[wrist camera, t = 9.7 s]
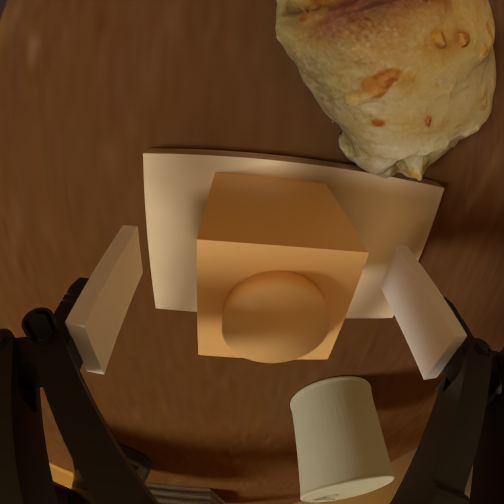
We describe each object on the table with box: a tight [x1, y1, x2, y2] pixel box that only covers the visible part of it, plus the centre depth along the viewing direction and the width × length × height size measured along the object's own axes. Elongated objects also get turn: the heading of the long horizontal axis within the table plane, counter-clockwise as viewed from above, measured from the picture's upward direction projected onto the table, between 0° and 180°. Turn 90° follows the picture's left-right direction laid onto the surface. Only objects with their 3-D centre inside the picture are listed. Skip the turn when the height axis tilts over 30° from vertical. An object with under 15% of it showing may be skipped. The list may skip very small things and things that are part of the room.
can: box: [290, 376, 395, 502], centre depth 26 cm, size 9×9×12 cm
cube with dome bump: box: [197, 172, 369, 363], centre depth 14 cm, size 6×6×8 cm
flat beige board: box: [143, 148, 444, 318], centre depth 17 cm, size 18×11×6 cm, turn 85°
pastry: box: [276, 0, 496, 181], centre depth 10 cm, size 14×12×8 cm
